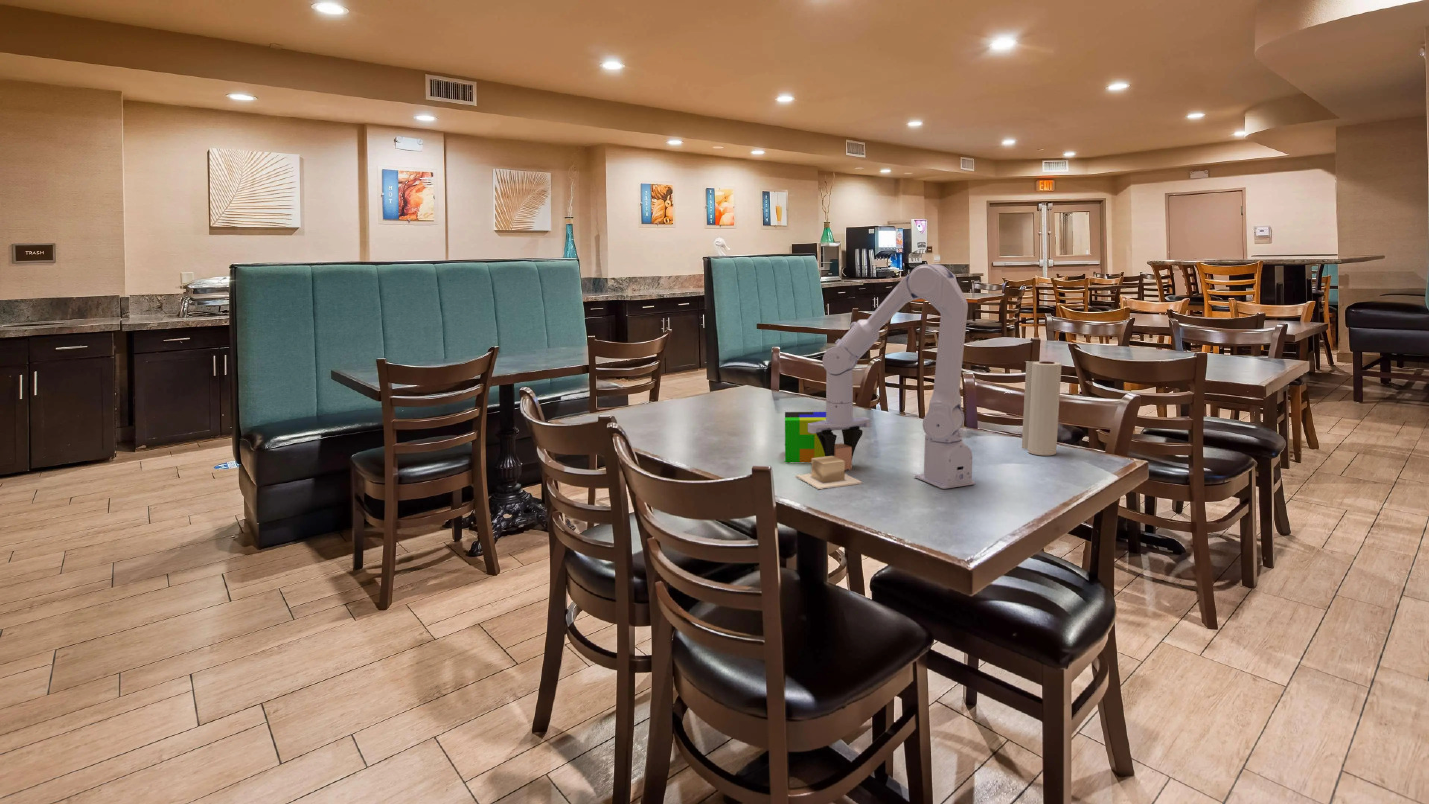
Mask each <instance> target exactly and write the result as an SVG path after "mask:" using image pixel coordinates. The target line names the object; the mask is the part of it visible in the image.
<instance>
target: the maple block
mask: <svg viewBox="0 0 1429 804" xmlns="http://www.w3.org/2000/svg"><path fill="white" fill-rule="evenodd" d="M845 472H846V470H845V461H843V460H841V459H839V458H836V457H834V456H826V457H818V458H812V463H811V473H812V477H813V478H815V479H817V480H819V481H821V482H822V483H826V482H833V481H840V480H845V474H846V473H845Z"/></svg>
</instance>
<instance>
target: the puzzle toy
mask: <svg viewBox="0 0 1429 804" xmlns="http://www.w3.org/2000/svg"><path fill="white" fill-rule="evenodd" d="M823 420H826V411H785V412H784V452H785V453H784V463H785V462H812V458H818V457H825V453H824V450H823V447H822V444H821V442H820V440H819V438H818V436H817V435H816V433H814V434H812V433H809V432H808V423H814V422H819V421H823Z"/></svg>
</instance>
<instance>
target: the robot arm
mask: <svg viewBox="0 0 1429 804" xmlns="http://www.w3.org/2000/svg"><path fill="white" fill-rule="evenodd" d="M919 299H923V300H924V301H927V302H928V303H930V305H931V306H932V307H933V308H934V309H935V310H936V311H938V312H939V314H940V319H939V329H938V338H937V351H936V360H935V372H934V380H933V381H934V383H933V391H932V395H931V398H930V401H929V405H928V411H927V412H926V414H925V416H924V417H923V419H922V429H923V431H924V433H925V435H924V455H923V456H924V459H923V460H924V461H923V462H924V463H923V464H924V465H923V473H921V474H920V473H919V474H915V475H914V478H915V479H918V480H920V481H923V482H925V483H928V484H930V485H932V486H934V487H938V488H939V489H942V490H944V489H951V488H957V487H958V488H960V487H964V486H971V485H976V483H975V482H976V481H974V480H972V478H973V477H972V476H973V453H972V449H971V448H970V447H969V446H968V445H966V444H965V443H964V441H963V435H962V434H961V432H960V429H961V428H962V426H963V425H964V422H965V413H964V412H963V408H962V396H961V393H960V388H961V378H962V370H963V369H962V368H963V361H964V360H963V359H964V352H965V351H964V349H965V339H966V329H967V320H968V319H967V318H968V310H969V305H968V301H967V298H966V297H965V295H964V293H963V291H962V289H961V287H960V285H959V283H958V281H957V277H956V275H955V274H954V273H953V272H952V271H950V270H949V269H948V268H947V267H945V266H944V265H943V264H939V263H937V264H936V263H934V264H920V265H917V266H916V267H915V268H913V269H912V270H911V271H910V273H909V274H907V275H905V277H903V278H902V279H901V280H900V281H899V282H898V284H897V285H896V286H895V287H894V288H893V289H892V291H890V293H888V295H887V296H886V297H885V298H884V300H883V301H882V302H881V303H880V304H879V305H878V306H877V308H876V309H875V310H874V311H873V312H872V314H871V315H870V316H869V317H868V318H867V319H858V320H857V321H853V322H851V323H850V325H849V328H850V329H849V330H848V331H847V332H846V333H845V334H844V335H843V337H842V338H841V339H840V338H837V340H836V341H835V344H836V345H835V346H832V347H829V348H827V349H826V351H825V352H824V354H823V357H822V367H823V368H824V370H825V371H826V377H825V378H826V381H825V382H826V383H825V387H826V388H825V389H826V390H825V392H826V393H825V394H826V395H825V396H826V398H825V399H826V400H825V401H826V402H825V407H826V408H825V410H826V411H825V412H826V420H823V421H819V422H814V423H808V432H809V433H812V434H814V433H816V435H817V436H818V438H819V440H820V442H821V444H822V447H823V450H824V453H825V457H826V456H834V447H835V444H836V440H837V435H836V434H834V432H835V431H840V430H841V434H842V439H843V440H842V441H843V444H845V445H848V446H850V447H852V459H853V458H854V457H853V456H854V453H855V451H856V448H857V444H858V442H859V441H860V439H861V438H862V436H863V432H864V431H863V430H862V429H861V428H871V419H870V418H869V417H866V416H865V417H864V416H863V417H853V409H854V404H853V403H854V401H853V399H854V397H853V396H854V394H853V393H854V392H853V391H854V380H853V379H854V377H853V376H854V375H853V374H854V369H855V367H856V366H857V363H858V360H860V359H861V358H862V357H863V356H864V355H865V354H866V353H867V351H869V349H871V348H872V346H873V345H874V344H876V342H877V341H878V340H879V339H880V329H881V328H882V327H883V326H884V325H886V324H887V323H888V322H889V320H891V319H892V318H893V316H894V315H896V314H897V313H898V312H899V311H900V310H901V309H902V308H903V307H904V306H905V305H906V304H907V303H910V302H912V301H916V300H919Z"/></svg>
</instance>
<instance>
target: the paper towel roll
mask: <svg viewBox="0 0 1429 804" xmlns="http://www.w3.org/2000/svg"><path fill="white" fill-rule="evenodd" d="M1025 363H1026V364H1025V378H1024V379H1025V381H1024V382H1025V383H1024V398H1023V399H1024V400H1023V416H1022V436H1021V437H1022V438H1021V449H1024V450H1027V452H1028V453H1029V454H1031V455H1035V456H1054V455H1056V454H1057V446H1058V444H1057V443H1058V428H1059V411H1060V396H1061V394H1060V392H1061V380H1062V377H1061V376H1062V366H1063V365H1062V364H1063V363H1061V362H1058V361H1057V362H1055V361H1046V360H1045V361H1044V360H1042V361H1037V360H1036V361H1035V360H1034V361H1032V360H1031V361H1029V360H1028V361H1025Z"/></svg>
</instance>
